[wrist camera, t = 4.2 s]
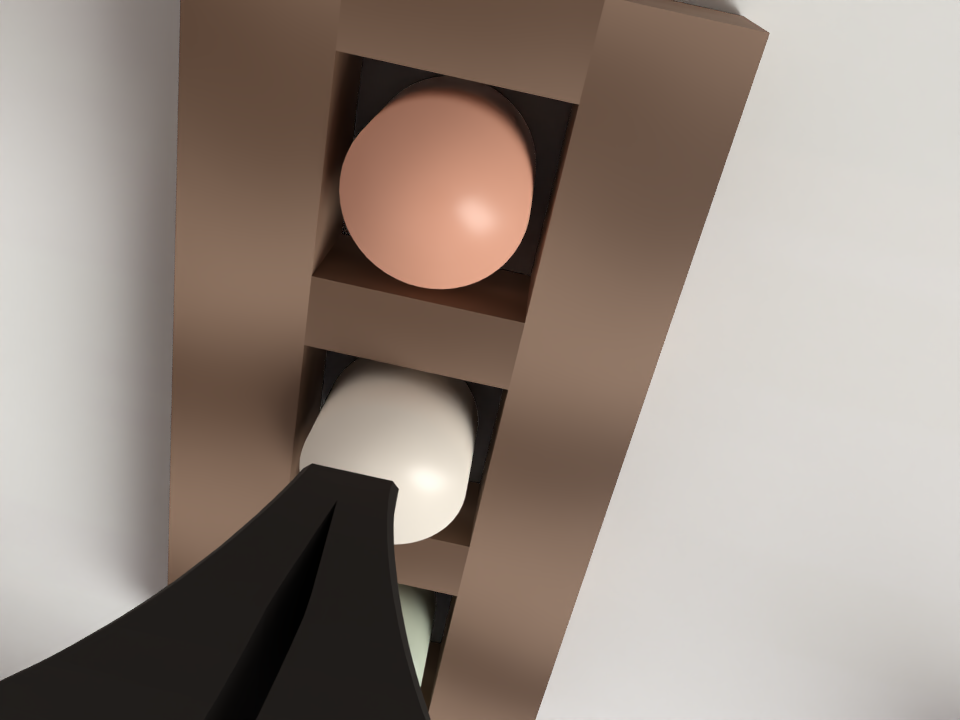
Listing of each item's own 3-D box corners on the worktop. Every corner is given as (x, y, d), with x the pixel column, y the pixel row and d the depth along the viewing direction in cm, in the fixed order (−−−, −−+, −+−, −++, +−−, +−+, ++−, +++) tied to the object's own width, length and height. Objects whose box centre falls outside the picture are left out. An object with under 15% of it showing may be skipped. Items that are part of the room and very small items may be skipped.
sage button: (424, 658, 24) (409, 733, 22) (299, 630, 24) (272, 703, 22) (446, 563, 22) (433, 635, 20) (312, 534, 22) (284, 602, 20)
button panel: (520, 704, 26) (515, 777, 24) (199, 634, 26) (164, 702, 24) (743, 16, 16) (770, 32, 14) (235, -98, 16) (182, -98, 14)
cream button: (463, 491, 21) (450, 559, 19) (321, 460, 21) (292, 524, 19) (492, 367, 19) (481, 426, 17) (337, 334, 19) (307, 388, 17)
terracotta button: (515, 260, 19) (508, 306, 17) (357, 225, 19) (329, 267, 17) (554, 97, 17) (550, 125, 15) (379, 58, 17) (351, 80, 15)
